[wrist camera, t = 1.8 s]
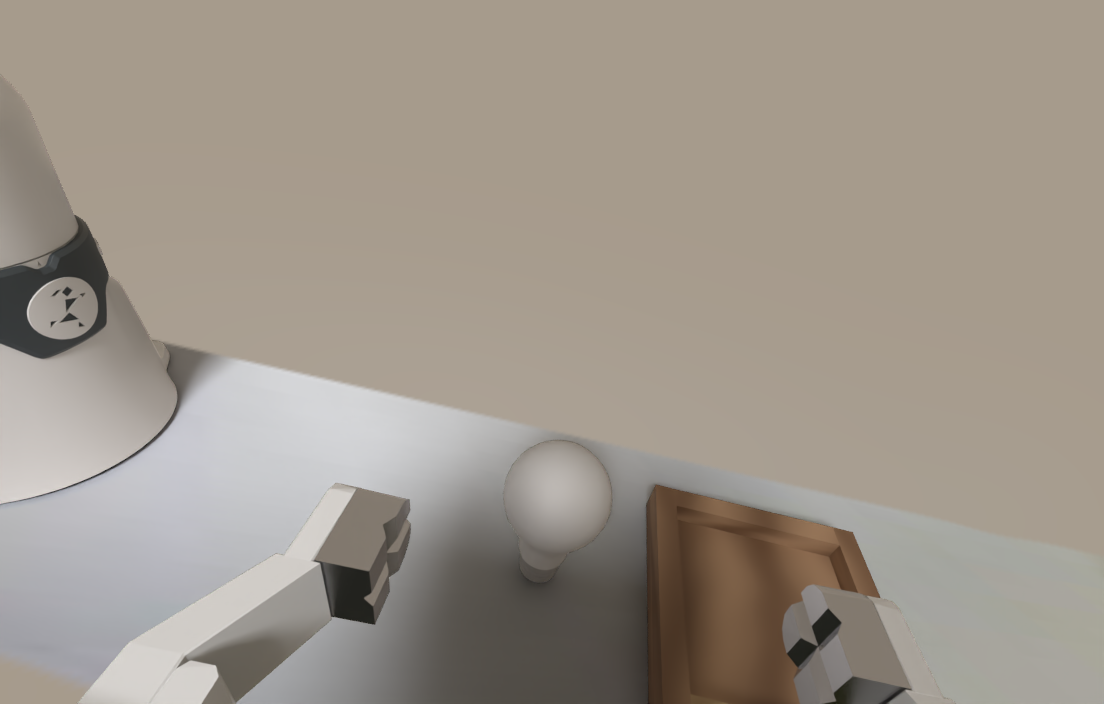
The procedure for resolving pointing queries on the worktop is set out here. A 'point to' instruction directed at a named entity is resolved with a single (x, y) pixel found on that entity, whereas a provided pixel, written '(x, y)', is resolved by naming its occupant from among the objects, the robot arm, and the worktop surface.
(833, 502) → the worktop surface
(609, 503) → the lightbulb
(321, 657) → the worktop surface
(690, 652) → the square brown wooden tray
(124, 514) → the worktop surface
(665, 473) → the worktop surface
